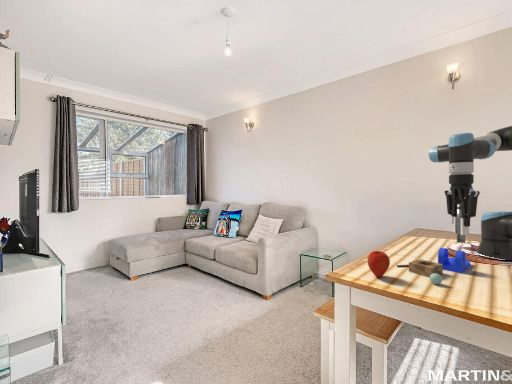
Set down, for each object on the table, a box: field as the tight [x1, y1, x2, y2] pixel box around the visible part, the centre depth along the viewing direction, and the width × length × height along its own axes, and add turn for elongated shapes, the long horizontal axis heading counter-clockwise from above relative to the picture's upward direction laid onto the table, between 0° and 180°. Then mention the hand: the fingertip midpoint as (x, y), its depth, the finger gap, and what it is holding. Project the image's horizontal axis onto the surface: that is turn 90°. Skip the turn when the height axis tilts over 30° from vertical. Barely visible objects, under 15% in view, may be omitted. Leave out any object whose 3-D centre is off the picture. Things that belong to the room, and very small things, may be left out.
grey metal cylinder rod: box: [456, 204, 466, 244], centre depth 99 cm, size 3×3×15 cm
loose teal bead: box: [429, 273, 443, 285], centre depth 97 cm, size 4×4×4 cm
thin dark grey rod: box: [396, 264, 409, 268], centre depth 118 cm, size 14×1×1 cm, turn 94°
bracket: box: [437, 247, 471, 274], centre depth 116 cm, size 18×8×9 cm, turn 128°
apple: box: [367, 250, 391, 278], centre depth 106 cm, size 9×8×11 cm
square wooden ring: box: [408, 258, 444, 278], centre depth 109 cm, size 9×9×4 cm
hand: (461, 233), depth 99 cm, fingers closed on grey metal cylinder rod, 2 cm apart
